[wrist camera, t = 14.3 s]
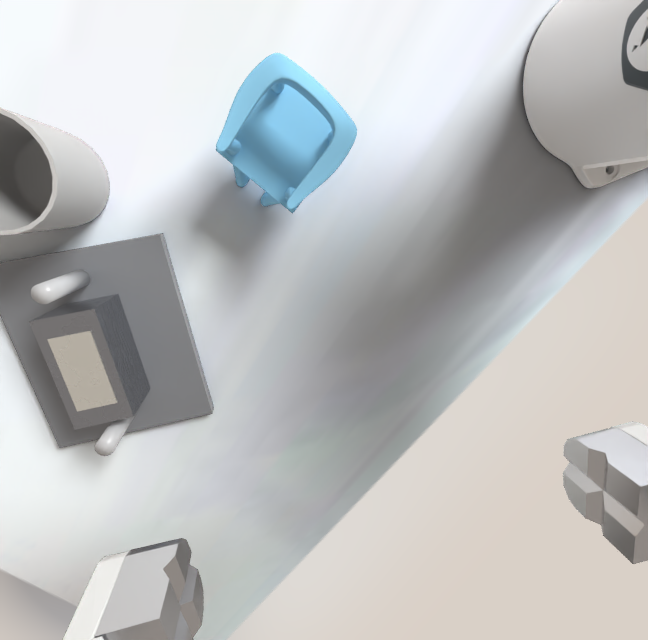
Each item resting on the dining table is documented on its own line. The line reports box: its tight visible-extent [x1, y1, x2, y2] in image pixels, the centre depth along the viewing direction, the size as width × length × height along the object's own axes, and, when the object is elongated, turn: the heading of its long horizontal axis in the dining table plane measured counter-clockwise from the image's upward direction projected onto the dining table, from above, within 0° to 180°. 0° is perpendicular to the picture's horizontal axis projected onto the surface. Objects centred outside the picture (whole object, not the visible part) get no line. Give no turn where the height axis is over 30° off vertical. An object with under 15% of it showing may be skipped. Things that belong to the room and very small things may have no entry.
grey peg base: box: [0, 233, 214, 456], centre depth 32 cm, size 14×17×7 cm
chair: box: [216, 53, 357, 213], centre depth 27 cm, size 8×8×12 cm
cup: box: [0, 108, 110, 235], centre depth 26 cm, size 7×10×9 cm
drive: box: [29, 294, 151, 430], centre depth 32 cm, size 4×9×5 cm, turn 10°
